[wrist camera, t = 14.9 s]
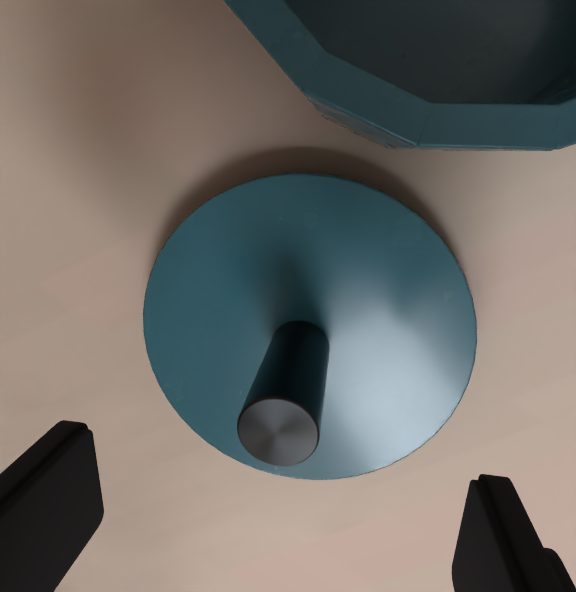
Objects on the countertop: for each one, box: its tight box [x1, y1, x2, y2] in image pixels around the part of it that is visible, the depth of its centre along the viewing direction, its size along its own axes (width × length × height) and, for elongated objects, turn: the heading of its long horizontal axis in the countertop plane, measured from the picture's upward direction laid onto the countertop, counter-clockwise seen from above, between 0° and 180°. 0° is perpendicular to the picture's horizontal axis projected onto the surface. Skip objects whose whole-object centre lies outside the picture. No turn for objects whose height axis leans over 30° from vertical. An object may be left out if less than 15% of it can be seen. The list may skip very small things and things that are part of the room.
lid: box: [143, 173, 477, 480], centre depth 15 cm, size 14×14×7 cm
